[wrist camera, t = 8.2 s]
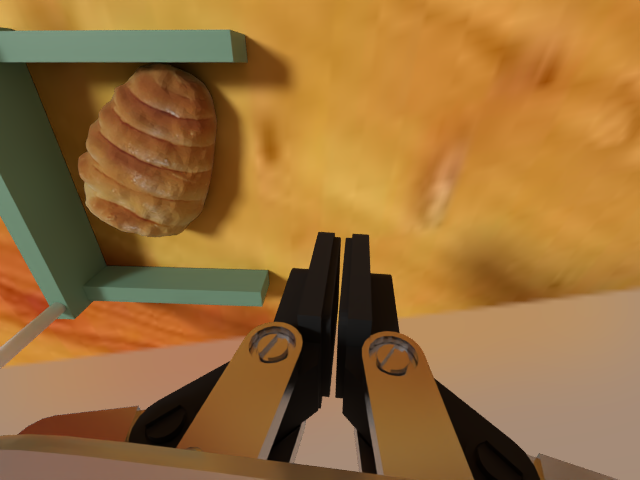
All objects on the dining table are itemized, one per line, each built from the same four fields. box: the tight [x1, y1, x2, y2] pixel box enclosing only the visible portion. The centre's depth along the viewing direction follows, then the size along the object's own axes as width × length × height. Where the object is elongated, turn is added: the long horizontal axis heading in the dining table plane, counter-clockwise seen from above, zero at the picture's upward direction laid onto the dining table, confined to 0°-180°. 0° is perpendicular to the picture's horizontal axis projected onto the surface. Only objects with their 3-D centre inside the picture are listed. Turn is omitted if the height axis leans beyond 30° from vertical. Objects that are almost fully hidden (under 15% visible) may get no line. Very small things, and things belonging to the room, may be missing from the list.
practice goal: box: [0, 28, 269, 369], centre depth 13 cm, size 13×16×14 cm
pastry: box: [78, 63, 217, 237], centre depth 17 cm, size 9×7×4 cm
